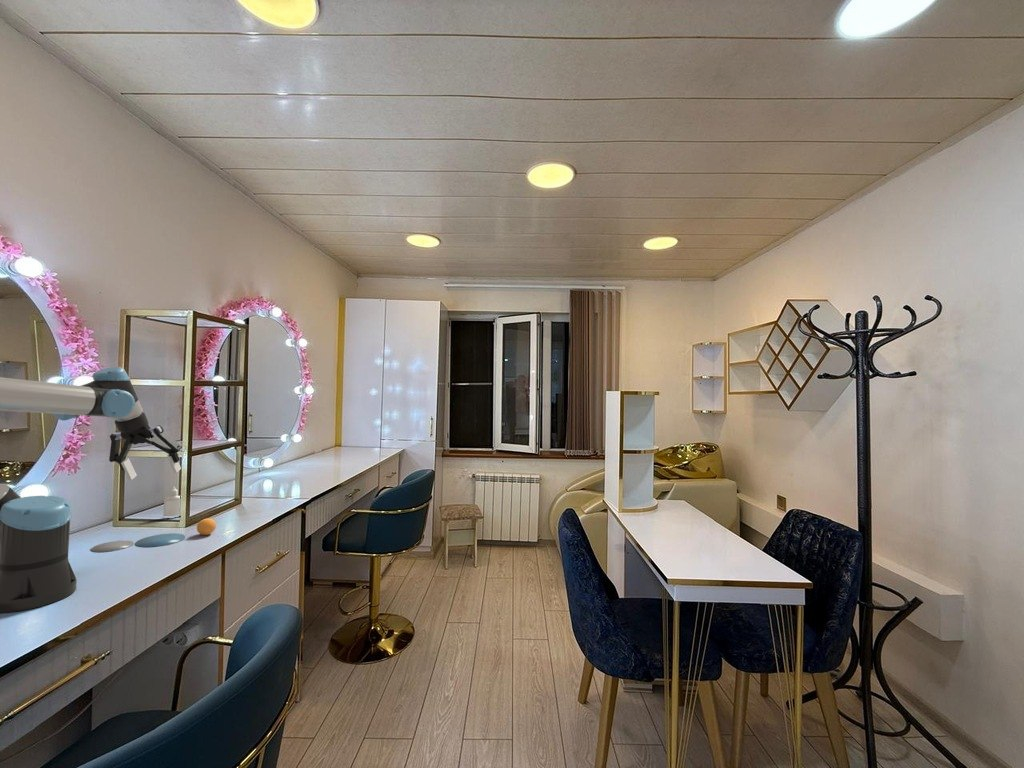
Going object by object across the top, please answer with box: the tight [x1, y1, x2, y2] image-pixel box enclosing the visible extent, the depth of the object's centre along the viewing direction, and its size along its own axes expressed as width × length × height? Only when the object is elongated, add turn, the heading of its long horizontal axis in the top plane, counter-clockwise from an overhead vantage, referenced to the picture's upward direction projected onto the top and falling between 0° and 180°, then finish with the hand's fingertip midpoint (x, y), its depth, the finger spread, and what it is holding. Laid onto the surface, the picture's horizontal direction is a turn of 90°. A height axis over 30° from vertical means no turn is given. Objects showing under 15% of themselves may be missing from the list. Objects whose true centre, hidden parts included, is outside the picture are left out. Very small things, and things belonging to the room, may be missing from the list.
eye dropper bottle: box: [163, 486, 181, 517], centre depth 174 cm, size 4×6×12 cm
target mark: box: [135, 532, 186, 548], centre depth 149 cm, size 13×13×1 cm
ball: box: [196, 518, 217, 536], centre depth 156 cm, size 6×6×6 cm
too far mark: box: [90, 540, 134, 553], centre depth 142 cm, size 10×10×1 cm
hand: (155, 474), depth 146 cm, fingers open, 13 cm apart
